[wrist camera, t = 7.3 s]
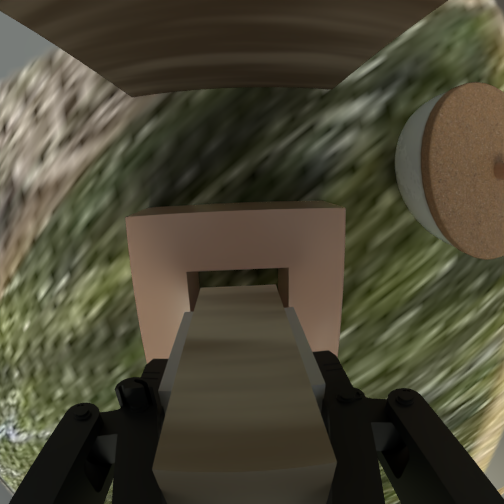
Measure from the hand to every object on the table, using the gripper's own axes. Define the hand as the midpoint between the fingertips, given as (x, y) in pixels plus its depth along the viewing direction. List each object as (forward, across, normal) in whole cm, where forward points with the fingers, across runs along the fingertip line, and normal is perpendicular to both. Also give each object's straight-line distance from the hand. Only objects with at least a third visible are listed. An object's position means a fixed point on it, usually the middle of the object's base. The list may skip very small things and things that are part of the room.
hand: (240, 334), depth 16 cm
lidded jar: (+8, -15, -9) cm, 19 cm away
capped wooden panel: (+7, 0, -12) cm, 14 cm away
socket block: (+7, 0, 0) cm, 7 cm away
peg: (+2, 0, 0) cm, 2 cm away
